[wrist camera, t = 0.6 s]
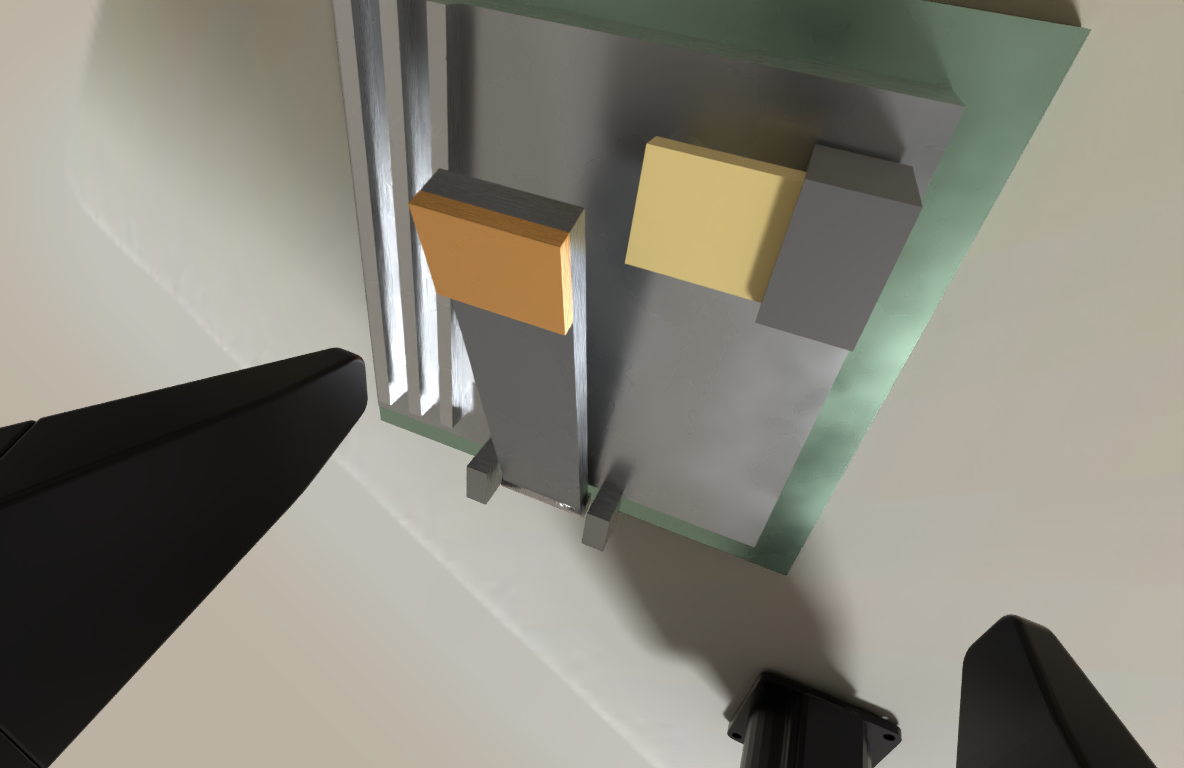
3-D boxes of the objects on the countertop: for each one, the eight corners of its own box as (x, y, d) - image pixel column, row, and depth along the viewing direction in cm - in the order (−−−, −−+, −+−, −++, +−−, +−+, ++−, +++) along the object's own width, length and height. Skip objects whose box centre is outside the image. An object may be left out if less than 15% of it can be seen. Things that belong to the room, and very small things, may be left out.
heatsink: (787, 563, 24) (775, 662, 21) (388, 412, 28) (322, 474, 25) (1082, 27, 13) (1165, 48, 9) (336, -101, 17) (197, -121, 13)
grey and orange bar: (591, 499, 22) (578, 528, 21) (513, 469, 23) (499, 497, 22) (592, 205, 11) (565, 249, 10) (437, 164, 11) (403, 201, 11)
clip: (854, 293, 14) (852, 351, 12) (651, 237, 15) (615, 281, 13) (912, 166, 12) (922, 207, 10) (676, 112, 13) (640, 138, 11)
